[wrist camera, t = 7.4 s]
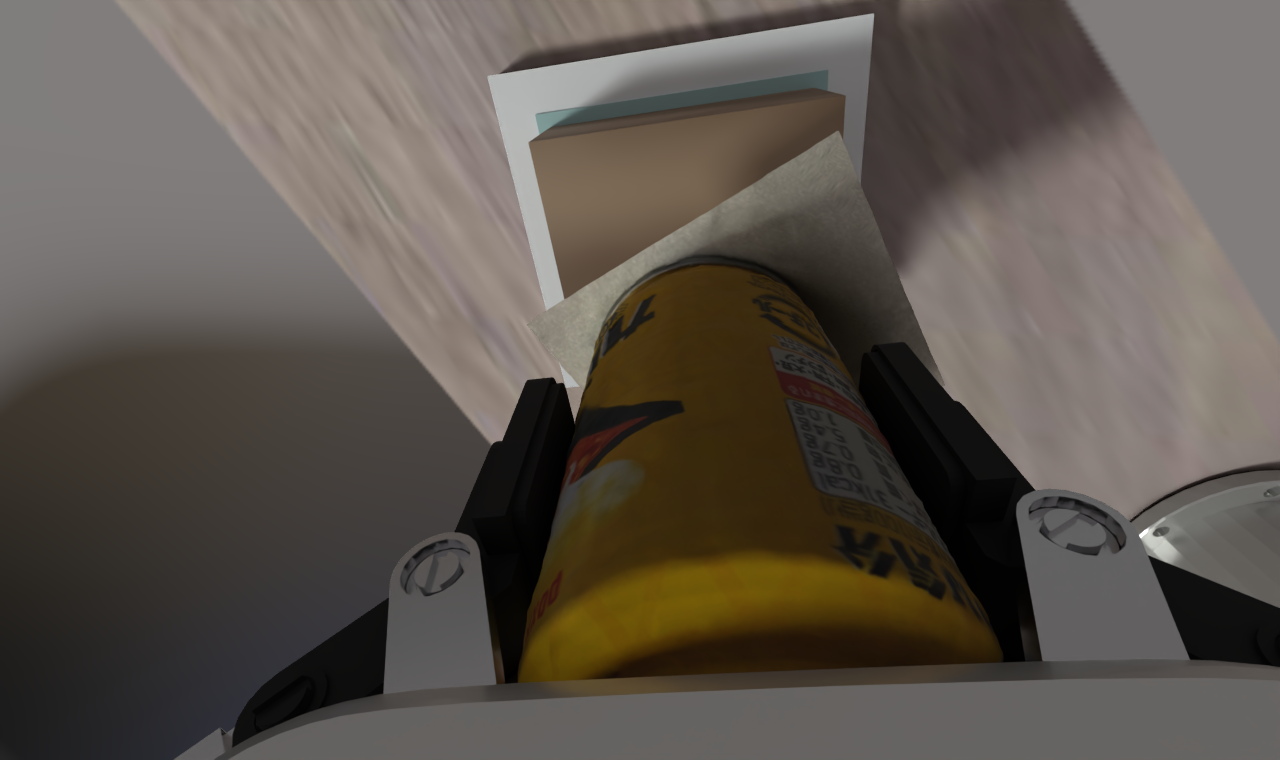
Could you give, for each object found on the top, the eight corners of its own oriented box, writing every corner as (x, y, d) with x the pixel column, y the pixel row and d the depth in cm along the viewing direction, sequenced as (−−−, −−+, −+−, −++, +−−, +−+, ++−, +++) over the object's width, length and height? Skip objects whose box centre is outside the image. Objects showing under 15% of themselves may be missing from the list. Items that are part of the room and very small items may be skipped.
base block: (805, 329, 25) (828, 373, 21) (596, 350, 26) (586, 396, 22) (813, 87, 19) (845, 95, 16) (550, 126, 20) (528, 142, 17)
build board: (837, 345, 27) (846, 361, 25) (570, 372, 28) (565, 388, 27) (860, 15, 19) (875, 13, 18) (497, 74, 21) (486, 76, 20)
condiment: (528, 320, 14) (144, 1079, 4) (836, 128, 11) (2742, 983, 1) (671, 495, 17) (682, 1166, 7) (939, 378, 14) (1632, 1199, 4)
